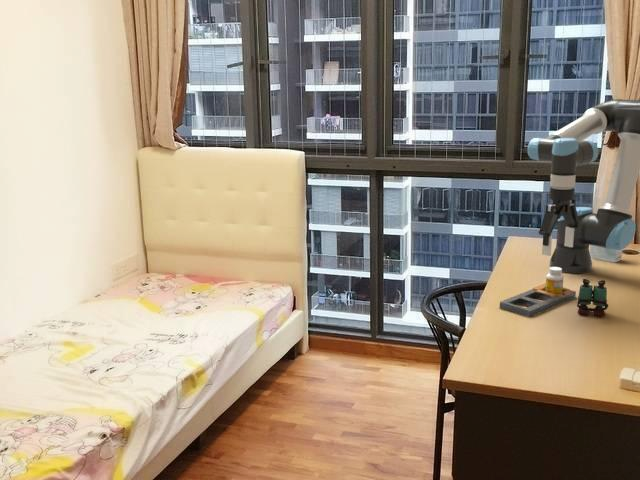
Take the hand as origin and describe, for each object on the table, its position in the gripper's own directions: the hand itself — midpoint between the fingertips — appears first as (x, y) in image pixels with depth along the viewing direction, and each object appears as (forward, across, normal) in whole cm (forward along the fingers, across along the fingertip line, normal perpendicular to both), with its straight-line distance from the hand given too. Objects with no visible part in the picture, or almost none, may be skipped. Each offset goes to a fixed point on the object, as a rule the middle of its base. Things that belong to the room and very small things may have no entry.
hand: (557, 250), depth 221 cm
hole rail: (+16, +10, 0) cm, 18 cm away
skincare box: (+17, -54, -10) cm, 58 cm away
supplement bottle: (+16, +1, 0) cm, 16 cm away
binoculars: (+16, +7, +17) cm, 24 cm away
